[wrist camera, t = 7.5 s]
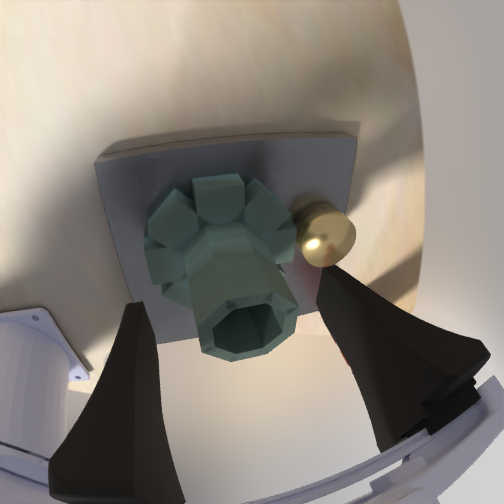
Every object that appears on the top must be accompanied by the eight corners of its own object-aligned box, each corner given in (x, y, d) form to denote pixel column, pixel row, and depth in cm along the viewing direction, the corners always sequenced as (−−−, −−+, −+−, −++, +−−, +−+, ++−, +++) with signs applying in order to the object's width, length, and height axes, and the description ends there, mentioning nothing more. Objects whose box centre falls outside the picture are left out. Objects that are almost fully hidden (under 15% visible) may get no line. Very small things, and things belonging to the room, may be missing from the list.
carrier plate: (149, 333, 19) (155, 393, 15) (98, 156, 11) (73, 202, 8) (318, 299, 21) (347, 348, 18) (346, 132, 14) (405, 165, 11)
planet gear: (161, 303, 16) (171, 392, 12) (134, 187, 12) (124, 272, 8) (281, 282, 18) (320, 358, 13) (290, 168, 13) (357, 234, 9)
